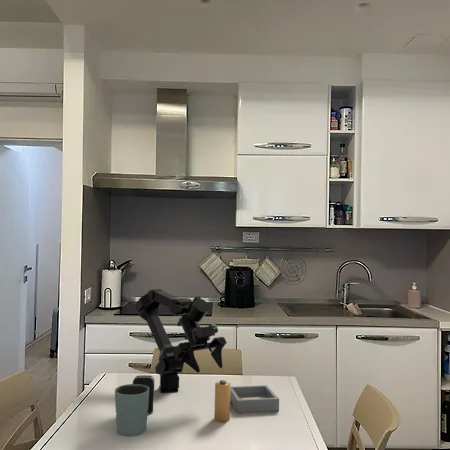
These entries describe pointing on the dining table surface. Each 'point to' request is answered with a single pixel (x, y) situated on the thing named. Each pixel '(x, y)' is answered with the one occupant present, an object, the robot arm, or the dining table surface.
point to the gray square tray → (253, 399)
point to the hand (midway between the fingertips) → (210, 369)
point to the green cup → (131, 409)
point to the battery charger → (150, 383)
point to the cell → (222, 401)
